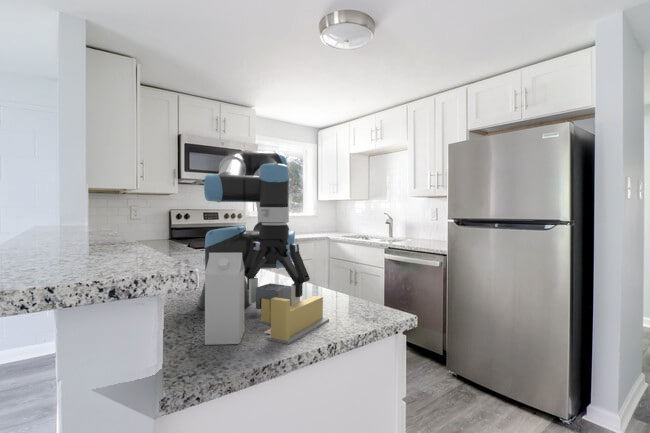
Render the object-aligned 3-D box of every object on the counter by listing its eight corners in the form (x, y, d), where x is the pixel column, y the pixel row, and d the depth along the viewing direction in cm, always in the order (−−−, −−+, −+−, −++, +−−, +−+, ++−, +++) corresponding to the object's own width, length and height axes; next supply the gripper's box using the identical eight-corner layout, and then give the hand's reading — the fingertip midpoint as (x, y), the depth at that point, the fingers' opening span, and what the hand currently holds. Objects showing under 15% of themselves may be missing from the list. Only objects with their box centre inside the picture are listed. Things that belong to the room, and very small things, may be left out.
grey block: (255, 308, 88) (255, 287, 88) (270, 303, 93) (270, 283, 93) (277, 312, 84) (277, 290, 84) (291, 307, 90) (291, 286, 90)
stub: (253, 322, 86) (253, 298, 86) (274, 313, 94) (275, 291, 94) (272, 326, 83) (272, 302, 83) (293, 316, 91) (293, 294, 91)
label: (263, 332, 79) (263, 331, 79) (279, 325, 84) (279, 324, 84) (274, 335, 78) (274, 334, 78) (289, 327, 83) (289, 326, 83)
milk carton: (212, 333, 79) (213, 250, 78) (244, 332, 79) (244, 250, 79) (204, 345, 71) (204, 254, 71) (239, 344, 72) (239, 254, 72)
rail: (266, 339, 75) (266, 298, 75) (309, 317, 91) (309, 283, 91) (289, 344, 72) (289, 302, 72) (329, 320, 88) (329, 286, 88)
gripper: (227, 223, 91) (227, 302, 91) (307, 225, 79) (307, 317, 79) (246, 222, 98) (246, 297, 98) (323, 224, 86) (322, 309, 86)
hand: (273, 306), depth 89 cm, fingers open, 13 cm apart
